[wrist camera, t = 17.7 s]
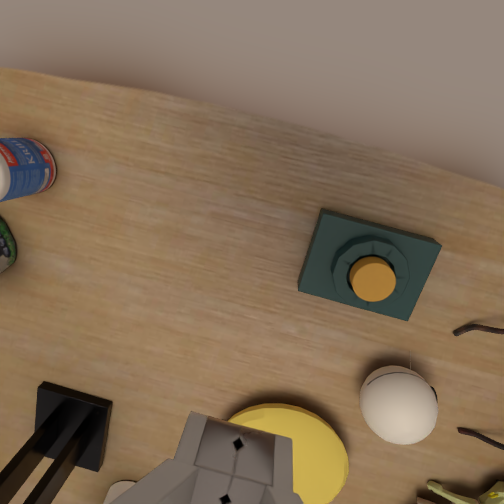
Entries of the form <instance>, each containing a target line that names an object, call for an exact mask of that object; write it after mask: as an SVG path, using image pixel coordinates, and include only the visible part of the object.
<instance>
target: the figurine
mask: <svg viewBox="0 0 504 504" xmlns="http://www.w3.org/2000/svg"><path fill="white" fill-rule="evenodd" d="M496 481H497V483H496V484H495V485H494V486H493V487H492V488H491V489H490V490H489V491H487V492H486V493H484V494H483V495H481V496H480V497H479V500H480V503H481V504H504V482H501V481H499V480H496ZM427 485H428V488H429V490H433V491H434V492H435V493H437V494H439V495H441V496H443V497H445V498H447V499H448V500H450V501H452V503H450V504H479V502H478V501H477V500H475V499H472V498H468V497H464V496H460V495H457V494H454V493H451V492H449V491H447V490H444V489H443V488H442V486H441V484H437V483H435V482H434V481H428V484H427ZM417 503H418V504H436V503H434V502H431V501H428V500H425V499H422V498H419V497H417Z"/></svg>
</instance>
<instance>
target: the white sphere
mask: <svg viewBox="0 0 504 504" xmlns="http://www.w3.org/2000/svg"><path fill="white" fill-rule="evenodd" d="M410 359H411V353H410ZM360 408H361V412H362V415H363V417H364V419H365V421H366V423H367V424H368V426H369V427H370V428H371V430H372V431H374V432H375V433H376V434H377V435H378V436H380V437H381V438H383V439H384V440H386V441H388V442H391V443H394V444H404V445H408V444H414V443H416V442H419V441H421V440H423V439H424V438H425V437H427V436H428V435H429V434H430V433H431V432H432V430H433V429H434V427H435V424H436V419H437V415H438V406H437V395H436V392H435V390H434V388H433V387H431V386H430V385H429V384H428V383H427V382H426V381H425V379H424V378H423V377H421V376H420V375H419V374H417V373H416V372H415V371H412V370H411V364H410V369H407V368H404V367H402V366H393V365H390V366H385V367H381V368H379V369H377V370H375V371H373V372H372V373H371V374H370V375H369V376H368V377H367V378H366V380H365V382H364V384H363V385H362V387H361V390H360Z"/></svg>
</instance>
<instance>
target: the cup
mask: <svg viewBox="0 0 504 504" xmlns="http://www.w3.org/2000/svg"><path fill="white" fill-rule="evenodd" d="M134 484H135V482H131V481H120V482H117V483H115V484H113V485H112V486H111V487H110V488H109V491H108V493H107V496H106V498H105V501H104V503H103V504H109V503H110V502H112V501H113V500H114V499H116V498H117V497H118V496H120V495H121V494H122V493H124V492H125V491H126V490H128V489H129V488H130V487H131V486H133V485H134Z"/></svg>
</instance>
